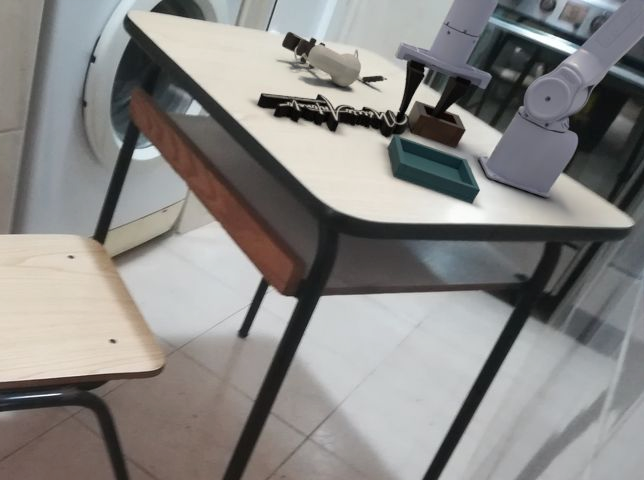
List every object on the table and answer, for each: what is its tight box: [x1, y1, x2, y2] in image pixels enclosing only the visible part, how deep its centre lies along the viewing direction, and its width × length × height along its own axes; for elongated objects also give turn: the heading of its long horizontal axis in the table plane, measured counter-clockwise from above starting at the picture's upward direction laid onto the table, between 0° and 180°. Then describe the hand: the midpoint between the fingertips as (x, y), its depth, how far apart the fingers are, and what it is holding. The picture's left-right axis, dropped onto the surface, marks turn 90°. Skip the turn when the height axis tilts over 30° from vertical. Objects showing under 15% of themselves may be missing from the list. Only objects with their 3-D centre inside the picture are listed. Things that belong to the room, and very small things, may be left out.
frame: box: [407, 100, 467, 149], centre depth 107 cm, size 8×7×3 cm
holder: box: [387, 134, 481, 204], centre depth 92 cm, size 11×11×2 cm
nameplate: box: [257, 92, 409, 138], centre depth 100 cm, size 27×2×10 cm
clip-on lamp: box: [281, 31, 388, 87], centre depth 115 cm, size 12×6×18 cm
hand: (416, 117), depth 107 cm, fingers open, 4 cm apart
